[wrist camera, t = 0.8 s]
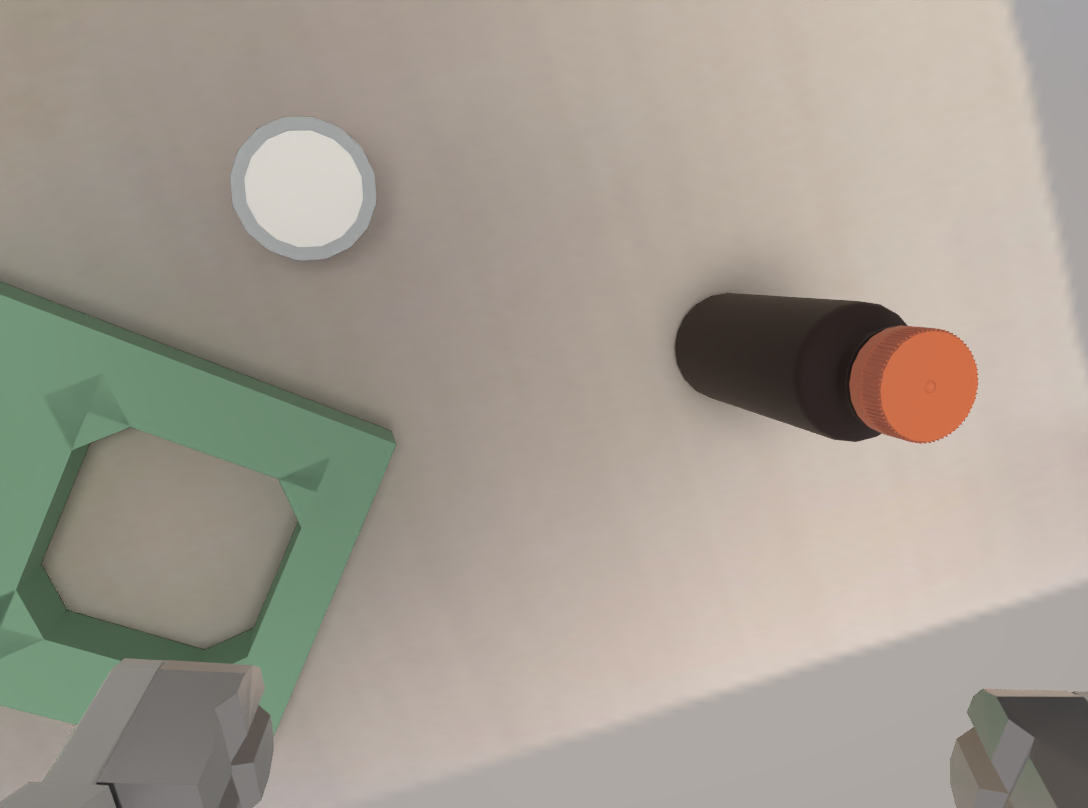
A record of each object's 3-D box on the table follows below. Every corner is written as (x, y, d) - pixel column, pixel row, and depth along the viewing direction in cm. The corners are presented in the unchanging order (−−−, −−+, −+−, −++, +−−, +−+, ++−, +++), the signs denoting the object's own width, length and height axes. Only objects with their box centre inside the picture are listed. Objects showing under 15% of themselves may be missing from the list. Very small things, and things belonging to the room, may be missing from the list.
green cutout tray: (-359, 568, 43) (-426, 597, 39) (-219, 198, 42) (-274, 190, 39) (264, 734, 52) (258, 771, 48) (391, 431, 51) (396, 444, 47)
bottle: (769, 395, 57) (993, 459, 38) (673, 401, 55) (855, 471, 36) (772, 291, 56) (1003, 303, 37) (673, 294, 54) (861, 308, 35)
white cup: (237, 252, 48) (222, 249, 41) (250, 125, 47) (236, 101, 40) (363, 270, 50) (368, 271, 43) (377, 149, 49) (385, 129, 42)
